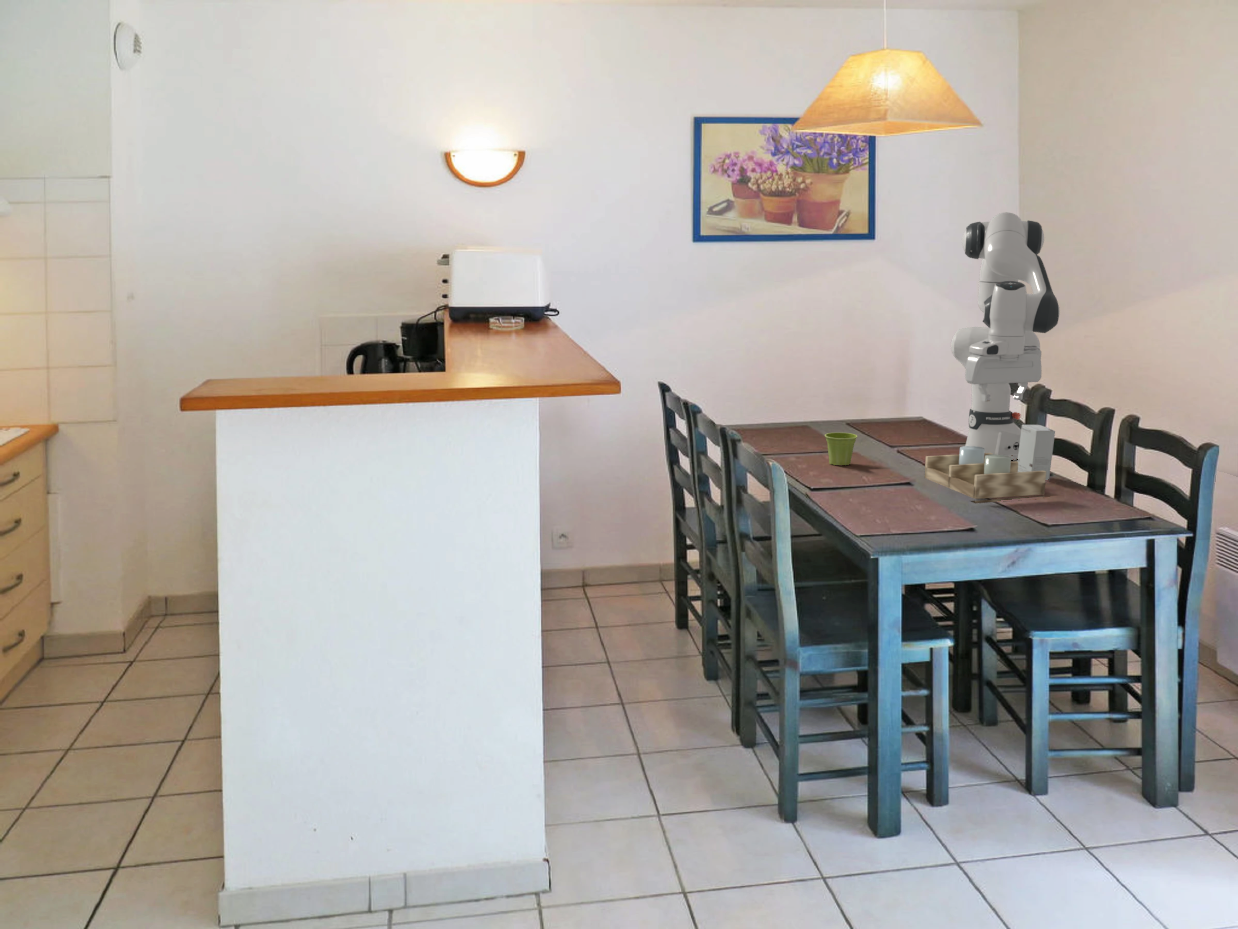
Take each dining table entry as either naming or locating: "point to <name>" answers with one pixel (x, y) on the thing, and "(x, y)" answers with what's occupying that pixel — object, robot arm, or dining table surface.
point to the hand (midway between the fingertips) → (1001, 400)
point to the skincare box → (1035, 449)
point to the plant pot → (840, 447)
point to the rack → (983, 479)
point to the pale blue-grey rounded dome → (971, 455)
